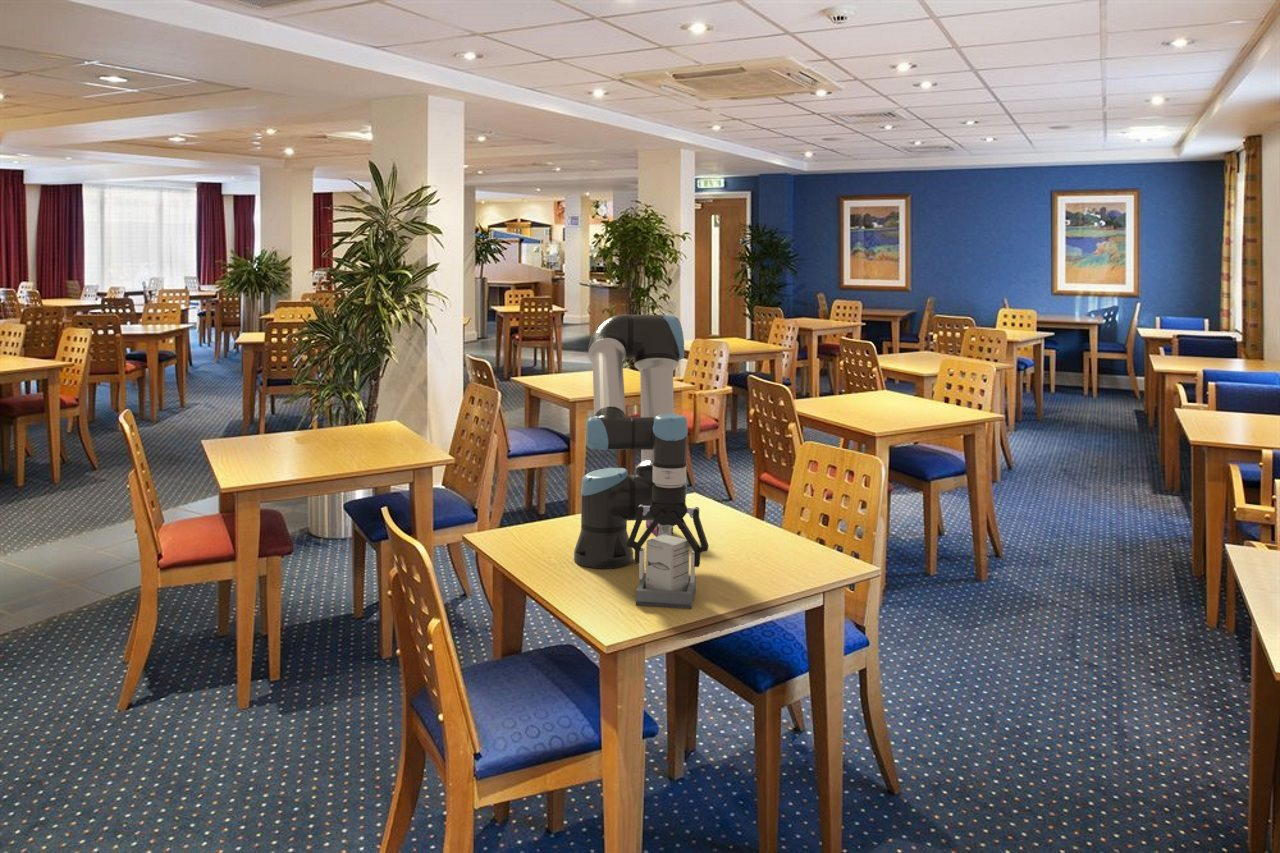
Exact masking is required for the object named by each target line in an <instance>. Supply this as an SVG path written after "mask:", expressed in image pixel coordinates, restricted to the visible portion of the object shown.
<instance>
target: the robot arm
mask: <svg viewBox="0 0 1280 853" xmlns="http://www.w3.org/2000/svg"><path fill="white" fill-rule="evenodd" d="M684 338H685V337H684V331H683V328H682V324H681V321H680V319H679V318H678V317H677V316H675V315H668V314H667V315H666V314H662V313H661V314H626V313H625V314H624V313H623V314H617V315H613V316H611V317H609V318H607V319H606V320H604V321H603V322H602V323H601V324H599V326H598V327H597V328H596V329H595V330H594V332H593V333H592V335H591V337H590V340H589V344H588V348H587V349H588V350H587V351H588V358H589V361H590V363H591V364H592V386H593V388H592V389H593V416H589V417H587V419H586V426H585V427H586V433H585V435H586V438H585V439H586V442H585V444H586V446H587V448H588V449H590V450H602V451H608V450H609V451H610V450H611V451H618V450H620V451H621V450H622V451H623V450H628V451H629V450H635V451H637V450H638V451H640V452H641V453H640V457H641V458H640V462H639V463H638V464H637V465H636V467H635V469H634V470H635V474H629V472H628V470H627V469H626V468H624V467H607V468H606V467H605V468H600V469H596V470H593V471H590V472H588V473H585V475H584V476H583V477H582V479H581V490H580V495H581V506H580V507H581V512H580V513H581V516H580V517H581V518H580V520H581V521H580V533H579V536H578V538H577V541H576V544H575V548H574V550H573V561H574V562H575V563H576V564H577V565H580V566H581V567H582V566H583V567H587V568H590V569H591V568H592V569H616V568H621V567H625V566H628V565H630V564H632V563H633V561H634V563H635V564H638V565H639V567H638V568H639V571H638V579H639V580H641V579H643V577H644V573H645V549H646V547H643V545H644V544H645V543H646V542H647V540H648V539H649V537H650V536H651V534H653V533H652V531H653V530H654V529H655V527H656V526H657V525H658V523H659V524H661V525H670V526H673V527H675V526H677V528H678V529H679V530H680V532H681V533H682V535H683V536H684V537H685V538H684V539H687V541H688V543H689V544H690V548H691V549H692V550H691V554H690V576H691V577H690V582H694V579H695V576H696V575H695V574H696V568H699V567H700V565H701V553H705V552H708V550H709V542H708V540H707V537H706V533H705V530H704V527H703V525H702V521H701V519H700V508H699V507H698V506H694V507H688V506H687V504H686V502H687V488H688V476H687V466H688V465H687V451H688V450H687V448H688V446H687V445H688V434H689V429H688V420H687V418H686V416H685V415H681V414H677V413H674V412H675V406H674V405H675V404H674V371H675V370H676V369H677V368H678V367H679V365H680V364H679V361H681V360H683V359H684V357H685V340H684ZM625 360H634V361H633V362H634V363H633V364H634V367H635V368H636V369H637V370H638V371H639V373H640V375H639V377H640V379H639V381H640V416H639V417H638V416H637V417H635V416H634V417H633V416H632V417H631V416H630V417H629V416H627V411H626V400H625V399H626V398H625V397H626V396H625V395H626V394H625V382H624V380H625V379H624V367H623V365H624V364H623V362H624V361H625ZM687 514H688V515H689V518H691V519H692V521H693V525H694V527H695V531H696V534H697V536H698V540H699V543H700V544H699V543H698V541H697V540H696V538H695V537H694V535H693V533H692V531H691V530H690V529H689V527H688V525H687V523H686V521H685V520H684V517H686V515H687ZM646 520H653V521H652V523H651V524H650V525H649V527H648V528H646V529H645V531H644V532H643V534H642V535H641V537H640V538H639V539H638V541H636V540H635V539H636V537H637V534H638V533H639V532H638V531H639V530H640V527H641V524H642V523H643V521H646ZM628 521H635V523H634V524H633V528H632V530H631V533H630V535H629V533H628V530H627V529H628V528H627V526H628V525H627V524H628ZM633 549H634V550H633Z"/></svg>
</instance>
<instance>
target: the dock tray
mask: <svg viewBox="0 0 1280 853" xmlns="http://www.w3.org/2000/svg"><path fill="white" fill-rule="evenodd" d="M690 577H691V575H689V583H688V589H687V592H684V591H668V590H652V589H646V572H644V577H643V579H639V583H638V585H637V587H636V589H635V606H639V607H653V608H654V607H656V608H668V609H669V608H670V609H683V610H684V609H687V610H692V608H693V603H694V601H695V595H696V591H697V575H695V579H694V582H690Z"/></svg>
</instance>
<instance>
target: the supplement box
mask: <svg viewBox="0 0 1280 853" xmlns="http://www.w3.org/2000/svg"><path fill="white" fill-rule="evenodd" d="M690 548H691V546H690V544H689V543H688V541H687V539H686V538H681V537H678V536H674V535H673V536H669V535H665V534H664V535H660V536H658V537H657V536H655V537H652V538H651V539H647V540H646V547H645V549H646V551H645V556H646V557H645V573H646V589H652V590H668V591H684V592H687V589H688V583H689V576H690Z"/></svg>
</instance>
